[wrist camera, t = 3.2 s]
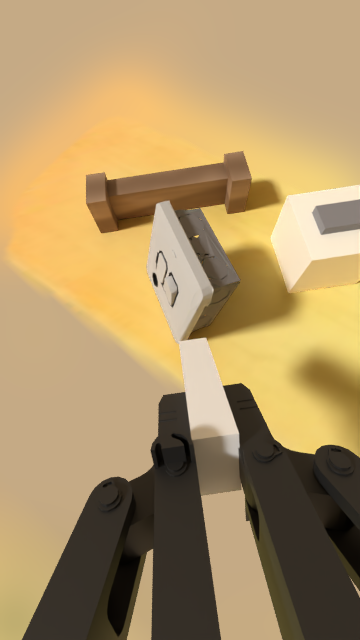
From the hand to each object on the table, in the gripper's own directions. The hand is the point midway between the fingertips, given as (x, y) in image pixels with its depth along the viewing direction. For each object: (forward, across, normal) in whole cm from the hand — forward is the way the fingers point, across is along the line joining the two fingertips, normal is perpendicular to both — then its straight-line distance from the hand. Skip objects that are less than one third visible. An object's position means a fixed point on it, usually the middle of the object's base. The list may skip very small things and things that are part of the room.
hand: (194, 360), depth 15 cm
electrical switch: (+14, 0, +1) cm, 14 cm away
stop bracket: (+22, 0, -8) cm, 24 cm away
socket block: (+15, -14, -1) cm, 21 cm away
